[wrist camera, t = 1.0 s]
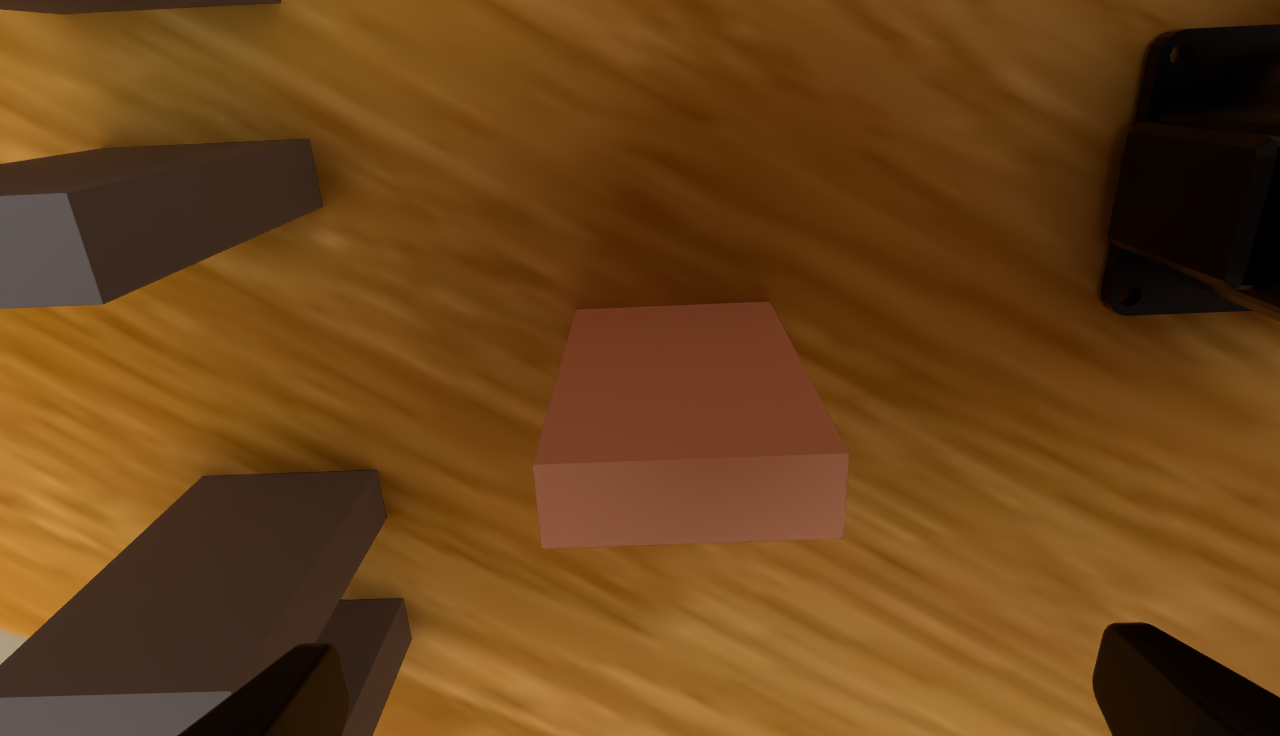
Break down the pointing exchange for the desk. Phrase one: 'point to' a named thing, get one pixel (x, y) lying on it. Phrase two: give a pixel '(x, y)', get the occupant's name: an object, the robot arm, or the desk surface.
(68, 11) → the domino
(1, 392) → the desk surface
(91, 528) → the desk surface
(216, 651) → the domino
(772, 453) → the domino
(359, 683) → the domino
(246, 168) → the domino
